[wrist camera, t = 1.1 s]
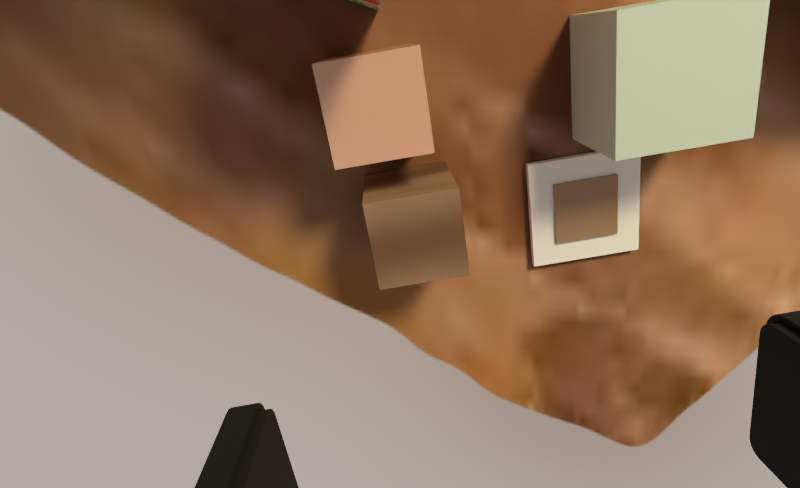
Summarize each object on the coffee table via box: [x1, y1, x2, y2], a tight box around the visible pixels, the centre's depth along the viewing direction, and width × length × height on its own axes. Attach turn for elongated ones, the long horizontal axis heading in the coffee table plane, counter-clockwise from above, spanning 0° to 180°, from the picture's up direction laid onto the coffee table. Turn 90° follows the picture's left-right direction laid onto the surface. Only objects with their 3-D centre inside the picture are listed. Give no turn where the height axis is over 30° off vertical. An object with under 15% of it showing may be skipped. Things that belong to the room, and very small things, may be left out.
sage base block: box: [569, 0, 770, 161], centre depth 26 cm, size 7×7×6 cm
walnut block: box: [362, 161, 470, 290], centre depth 29 cm, size 5×5×6 cm
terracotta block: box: [312, 44, 435, 170], centre depth 26 cm, size 5×5×6 cm
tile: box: [526, 151, 641, 267], centre depth 32 cm, size 7×7×1 cm
